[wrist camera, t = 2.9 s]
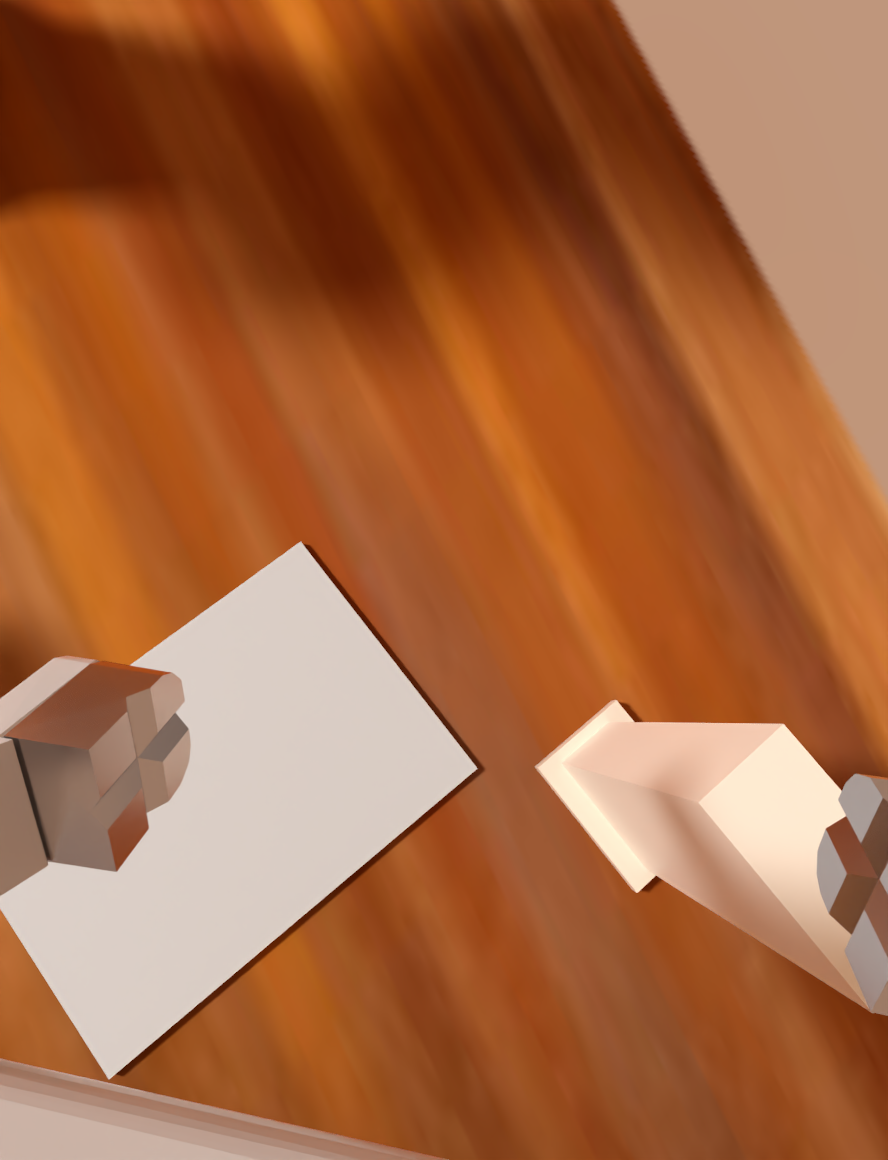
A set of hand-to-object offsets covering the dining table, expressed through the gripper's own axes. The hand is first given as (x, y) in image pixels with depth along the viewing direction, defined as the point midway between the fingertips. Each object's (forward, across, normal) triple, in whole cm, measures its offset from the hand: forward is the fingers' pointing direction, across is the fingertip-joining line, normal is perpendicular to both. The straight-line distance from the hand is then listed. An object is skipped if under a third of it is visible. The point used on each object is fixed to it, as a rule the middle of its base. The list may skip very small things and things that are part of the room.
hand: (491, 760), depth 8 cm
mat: (+15, +13, +17) cm, 26 cm away
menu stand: (+18, -6, +17) cm, 26 cm away
